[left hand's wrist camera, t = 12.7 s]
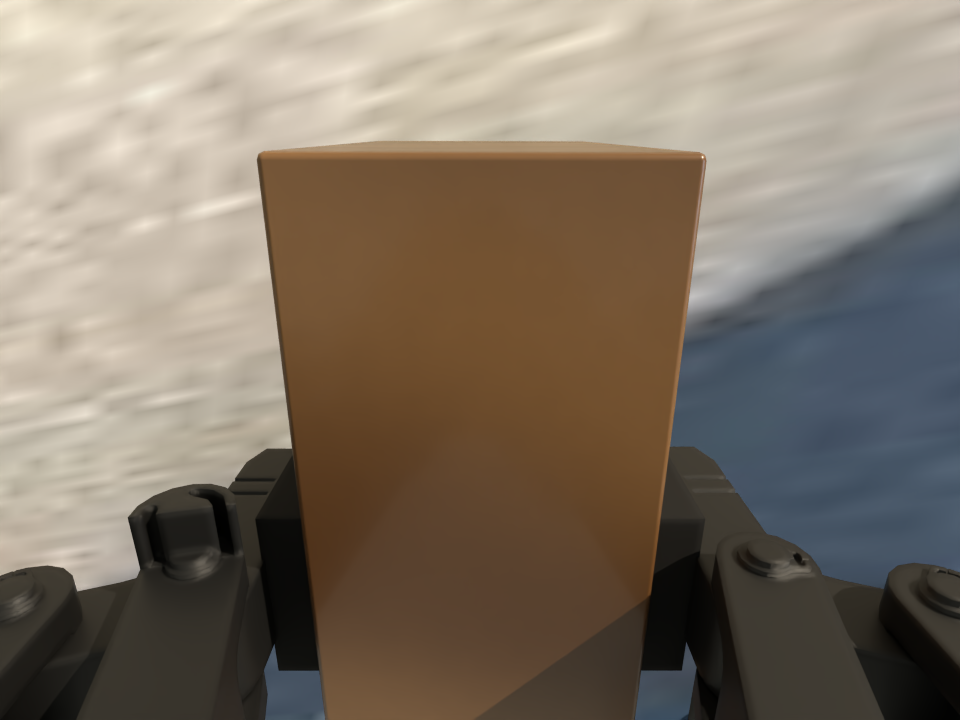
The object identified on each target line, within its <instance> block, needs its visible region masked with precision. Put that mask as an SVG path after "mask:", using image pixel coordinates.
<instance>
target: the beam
mask: <svg viewBox="0 0 960 720" xmlns="http://www.w3.org/2000/svg"><path fill="white" fill-rule="evenodd" d="M257 165H258V173H259V181H260V189H261V198H262V206H263V214H264V222H265V230H266V239H267V247H268V255H269V263H270V271H271V279H272V288H273V296H274V304H275V312H276V320H277V329H278V337H279V345H280V353H281V361H282V369H283V378H284V386H285V394H286V402H287V410H288V419H289V427H290V435H291V443H292V451H293V460H294V468H295V476H296V484H297V492H298V500H299V509H300V517H301V525H302V533H303V541H304V550H305V558H306V566H307V574H308V582H309V590H310V599H311V607H312V615H313V623H314V631H315V640H316V648H317V656H318V664H319V672H320V680H321V689H322V697H323V705H324V713H325V720H635V713H636V706H637V698H638V690H639V682H640V675H641V667H642V659H643V651H644V643H645V636H646V628H647V620H648V612H649V604H650V597H651V589H652V581H653V573H654V566H655V558H656V550H657V542H658V534H659V527H660V519H661V511H662V503H663V495H664V488H665V480H666V472H667V464H668V457H669V449H670V441H671V433H672V425H673V418H674V410H675V402H676V394H677V386H678V379H679V371H680V363H681V355H682V348H683V340H684V332H685V324H686V316H687V309H688V301H689V293H690V285H691V278H692V270H693V262H694V254H695V246H696V239H697V231H698V223H699V215H700V207H701V200H702V192H703V184H704V176H705V169H706V157H705V155H704V154H702V153H700V152H691V151H680V150H669V149H658V148H647V147H636V146H626V145H615V144H604V143H593V142H568V141H374V142H363V143H352V144H340V145H329V146H318V147H306V148H295V149H284V150H272V151H264V152H261V153H259V154H258V158H257Z"/></svg>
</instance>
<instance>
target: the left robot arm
mask: <svg viewBox="0 0 960 720" xmlns="http://www.w3.org/2000/svg"><path fill="white" fill-rule="evenodd" d="M128 520H129V525H130V529H131V533H132V537H133V541H134V545H135V549H136V553H137V557H138V561H139V565H140V572H139V574H138V576H137V578H135V579H132V580H128V581H124V582H121V583H116V584H111V585H106V586H102V587H97V588H92V589H87V590H83V591H78V592H77V589H76V586H75V583H74V579H73V576H72V575H71V574H70V573H69V572H68V571H66V570H65V569H64V568H60V567H53V566H39V567H30V568H25V569H20V570H16V571H15V572H13V571H12V572H10V573H7V574H4V575H1V576H0V720H265V714H266V705H267V695H268V694H267V687H266V681H265V675H264V668H265V666H266V663H267V661H268V658H269V656H270V653H271V651H272V648H273V646H274V643H275V650H276V656H277V663H278V669H279V671H319V664H318V656H317V648H316V640H315V631H314V623H313V615H312V607H311V599H310V590H309V582H308V574H307V566H306V558H305V550H304V541H303V533H302V525H301V517H300V509H299V500H298V492H297V484H296V476H295V468H294V460H293V451H292V449H266V450H264V451H263V452H261V453H260V454H258V455H257V456H255V457H254V458H252V459H251V460H249V461H248V462H247V463H246V464H245V465H244V467H243V468H242V470H241V471H240V472H239V474H238V475H237V477H236V478H235V482H232V484H231V485H230V487H229V488H228V489H227V488H226V487H222V486H218V485H213V484H192V485H187V486H182V487H177V488H173V489H170V490H168V491H165V492H162V493H160V494H157V495H155V496H153V497H151V498H150V499H148V500H147V501H145V502H143V503H142V504H140V505H139V506H137V508H136V509H135V510H134V511H133V512H132V513H131V515H130V516H129V517H128ZM686 642H687V644H688V647H689V649H690V652H691V654H692V657H693V659H694V662H695V664H696V666H697V669H696V675H695V681H694V687H693V692H692V698H691V704H690V710H689V716H688V720H960V573H959V572H957V571H954V570H951V569H946V568H944V567H939V566H935V565H927V564H919V563H911V564H904V565H898V566H897V567H895V568H894V569H893V570H892V571H891V572H889V574H888V578H887V581H886V584H885V588H884V589H881V588H876V587H871V586H866V585H862V584H857V583H852V582H847V581H843V580H838V579H835V578H831V577H827V576H824V575H822V573H821V570H820V568H819V567H818V566H817V564H816V563H815V561H814V560H813V559H812V557H811V556H810V555H808V554H807V553H806V552H804V551H803V550H802V549H800V548H799V547H798V546H796V545H795V544H792V543H790V542H788V541H786V540H784V539H781V538H779V537H777V536H772V535H768V534H766V532H765V531H764V530H763V528H762V527H761V525H760V524H759V523H758V521H757V520H756V518H755V517H754V516H753V514H752V513H751V511H750V510H749V509H748V507H747V506H746V504H745V503H744V502H743V500H742V499H741V497H740V496H739V495H738V493H735V489H734V488H733V486H732V485H731V483H730V482H729V481H728V480H726V476H725V475H724V473H723V472H722V471H721V469H720V468H719V466H718V465H717V464H716V462H715V461H714V460H713V459H711V458H710V457H708V456H707V455H705V454H704V453H702V452H701V451H699V450H698V449H696V448H695V447H670V449H669V457H668V464H667V472H666V480H665V488H664V495H663V503H662V511H661V519H660V527H659V534H658V542H657V550H656V558H655V566H654V573H653V581H652V589H651V597H650V604H649V612H648V620H647V628H646V636H645V643H644V651H643V659H642V667H641V670H682V665H683V659H684V652H685V646H686Z"/></svg>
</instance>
